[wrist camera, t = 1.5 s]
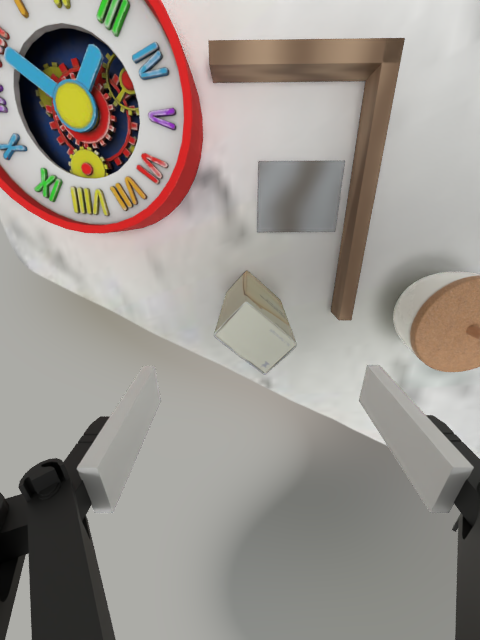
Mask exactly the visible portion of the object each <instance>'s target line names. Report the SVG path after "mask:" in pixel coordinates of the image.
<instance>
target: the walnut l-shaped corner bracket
mask: <svg viewBox="0 0 480 640" xmlns="http://www.w3.org/2000/svg"><path fill="white" fill-rule="evenodd" d="M404 40H405V38H370V39H293V40H216V41H209V65H210V69H211V74H212V79H213V83H227V82H317V81H365V88H364V95H363V101H362V108H361V114H360V121H359V128H358V134H357V141H356V147H355V154H354V161H353V167H352V174H351V181H350V187H349V194H348V200H347V207H346V214H345V220H344V227H343V234H342V240H341V247H340V253H339V260H338V267H337V273H336V280H335V287H334V293H333V300H332V306H331V312H332V313H333V314H334V315H335V317H336V318H337V319H338V320H351V319H352V314H353V309H354V304H355V298H356V293H357V288H358V282H359V277H360V272H361V267H362V261H363V256H364V251H365V245H366V240H367V235H368V230H369V224H370V219H371V214H372V209H373V203H374V198H375V193H376V187H377V182H378V177H379V172H380V166H381V161H382V156H383V150H384V145H385V140H386V135H387V129H388V124H389V119H390V113H391V108H392V103H393V98H394V92H395V87H396V82H397V77H398V71H399V66H400V61H401V55H402V50H403V45H404ZM344 164H345V161H259V172H258V219H257V232H335V229H336V222H337V215H338V207H339V200H340V193H341V186H342V179H343V172H344Z"/></svg>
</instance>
